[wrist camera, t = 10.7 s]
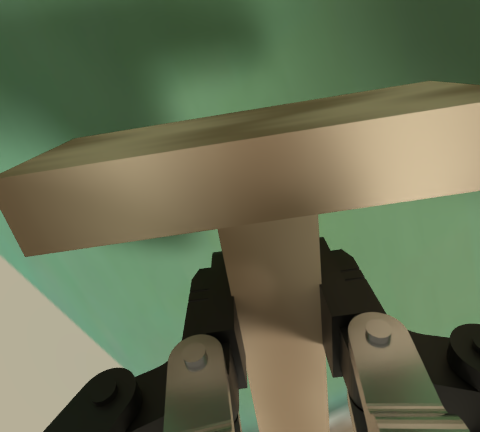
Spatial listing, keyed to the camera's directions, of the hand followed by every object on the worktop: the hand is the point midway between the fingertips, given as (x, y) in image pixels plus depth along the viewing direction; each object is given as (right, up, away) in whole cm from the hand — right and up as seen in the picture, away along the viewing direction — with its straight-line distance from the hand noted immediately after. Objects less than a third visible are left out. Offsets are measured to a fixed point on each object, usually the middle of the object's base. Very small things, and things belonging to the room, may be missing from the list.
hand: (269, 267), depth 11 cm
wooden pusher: (0, 0, +2) cm, 2 cm away
